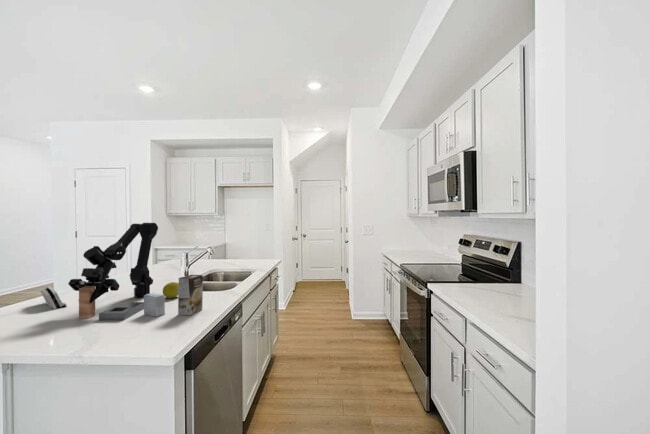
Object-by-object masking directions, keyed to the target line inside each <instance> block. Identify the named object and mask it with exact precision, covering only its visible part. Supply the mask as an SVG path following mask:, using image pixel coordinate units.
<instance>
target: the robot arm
mask: <svg viewBox="0 0 650 434" xmlns="http://www.w3.org/2000/svg"><path fill="white" fill-rule="evenodd" d="M158 230H159V226H158V224H157V223H156V222H143V223H132V224H130V226H129V228H128V229H127V230H126V231H125V233H123V235H122V236H121V237H120V238H119V239H118V240H117V241H116V242H115V243H113V244H111V245H109V246H108V247H106V249H105V250H102V249H101V247H100V246H99V245H94V246H93V247H91V248H89V249H87V250H86V251H84V253H83V257H84V258H85V260H86V261H88V262H89V263H90V264H91V265H93V266H95V268H90V267H86V268H85V267H84V268H82V272H81V275H80V276H81V277H83V278H84V279H85V280H86V281H85V280H83V279H82V278H72V279H69V281H68V284H67V285H69V287H71V288H72V290H73V291H75V292H79V288H82V287H85V286H95V291H94V293H93V295H92V297H91V299H90V301H89V302H90V303H92V302H93V301H94V300H95V301H96V300H97V299H98V298H100V297H101V296H104V294H106V293H108V292H109V289H110V291H112V292H113V291H114V292H116V291H118V290H119V288H120V284H119V283H118V281H117V280H116V279H115V278H110V275H109V274H110V272H111V270H112V269H116V268H117V265H116V262H113V261H121V260H123V258H124V256H125V255H126V253H127V248H128V246H129V245H131V243H132V242H133V241H134V240H135V238H136V237H137V236H138V235H139V236H140V237H141V241H140V245H139V251H138V255H137V256H138V257H137V260H136V261H137V262H136V264H135V266H134V267H131V268H130V273H129V280H130V283H131V285H132V286H134V288H133V296H134V297H135V298H136V299H141V298H144V295H147V294H150V291H151V290H150V289H151V285H153V284H154V279H153V278H152V277H151V276H150V269H149V267H148V264H149V258H150V253H151V248H152V242H153V239H154V238H155V237H156V236H157V233H158Z"/></svg>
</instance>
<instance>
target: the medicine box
mask: <svg viewBox="0 0 650 434" xmlns="http://www.w3.org/2000/svg"><path fill="white" fill-rule="evenodd" d="M165 298H166V297H165V295H163V293H155V292H151V293H150V294H147V295H144V297H143V302H144V309H143V315H146V316H150V317H155V318H157V317H160V316H164V315H165V314H166V310H165V309H166V307H165V306H166V303H165V300H166V299H165Z"/></svg>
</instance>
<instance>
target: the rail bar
mask: <svg viewBox="0 0 650 434" xmlns="http://www.w3.org/2000/svg"><path fill="white" fill-rule="evenodd" d="M142 310H143V311H144V301H138V302H137V301H134V302H133V301H129V302H127V301H122V302H119V303H117V304H116V305H115V304H114V305H113V306H111V307H108V308H106V309H105V310H103V311H100V312H99V313H98V321H125V320H128V319H129V318H131V317H133V316H134V315H135V314H137V313H139V312H141V311H142Z"/></svg>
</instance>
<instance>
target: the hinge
mask: <svg viewBox="0 0 650 434" xmlns="http://www.w3.org/2000/svg"><path fill="white" fill-rule="evenodd" d="M40 293H41V295H42V297H43V300H44V301H45V303H46V304H47V305H48V307H50V308H51V309H52V308H53V310H56V309H58V307H60V308H61V307H63V306H64V307H65V308H68V305H67V304H66V303H65V302H64V301H63V300H62V299H61V298H60V296H59V294H58V292H57V291H56V290H55V289H54V288H53V287H52V286H46V288H42V289H41V290H40Z"/></svg>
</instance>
